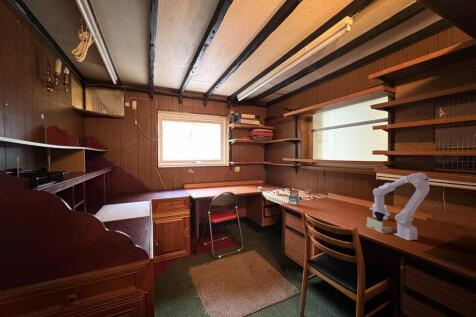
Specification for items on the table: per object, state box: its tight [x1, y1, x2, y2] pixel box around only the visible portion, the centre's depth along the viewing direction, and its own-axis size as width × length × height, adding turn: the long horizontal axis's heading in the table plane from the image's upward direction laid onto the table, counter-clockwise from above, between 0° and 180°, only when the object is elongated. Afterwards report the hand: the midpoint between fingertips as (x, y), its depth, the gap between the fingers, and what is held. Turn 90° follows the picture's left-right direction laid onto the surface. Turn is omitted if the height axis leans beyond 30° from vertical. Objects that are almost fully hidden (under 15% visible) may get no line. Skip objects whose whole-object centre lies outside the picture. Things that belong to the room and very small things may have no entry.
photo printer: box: [372, 203, 389, 221], centre depth 156 cm, size 10×4×12 cm, turn 39°
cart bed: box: [366, 223, 393, 234], centre depth 135 cm, size 13×8×4 cm, turn 10°
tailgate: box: [366, 217, 384, 230], centre depth 135 cm, size 12×1×5 cm, turn 10°
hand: (379, 222), depth 135 cm, fingers closed
